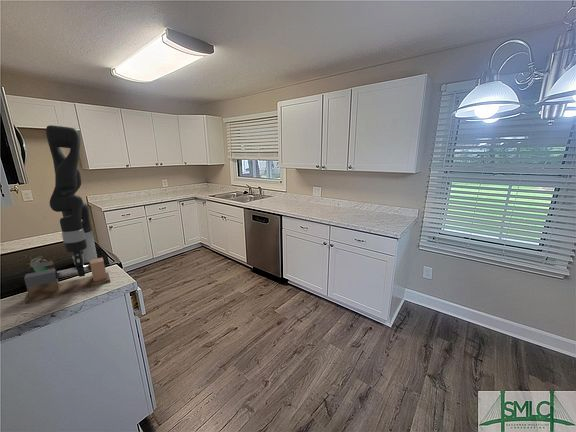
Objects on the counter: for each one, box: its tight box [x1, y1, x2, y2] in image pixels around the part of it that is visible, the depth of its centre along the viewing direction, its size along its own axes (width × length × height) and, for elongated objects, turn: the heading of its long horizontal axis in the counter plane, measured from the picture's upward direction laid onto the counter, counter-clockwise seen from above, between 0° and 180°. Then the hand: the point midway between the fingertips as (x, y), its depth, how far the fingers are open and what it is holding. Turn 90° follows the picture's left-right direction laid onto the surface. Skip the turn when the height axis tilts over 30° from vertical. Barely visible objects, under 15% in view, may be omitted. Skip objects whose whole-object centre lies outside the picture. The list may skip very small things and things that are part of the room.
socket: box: [89, 257, 107, 281], centre depth 116 cm, size 5×5×9 cm
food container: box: [29, 255, 55, 272], centre depth 116 cm, size 12×6×10 cm, turn 62°
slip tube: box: [55, 263, 92, 279], centre depth 110 cm, size 17×3×3 cm, turn 130°
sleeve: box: [23, 267, 57, 289], centre depth 103 cm, size 9×5×4 cm, turn 130°
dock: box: [24, 271, 111, 305], centre depth 110 cm, size 28×10×6 cm, turn 130°
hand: (82, 274), depth 112 cm, fingers closed on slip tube, 3 cm apart
